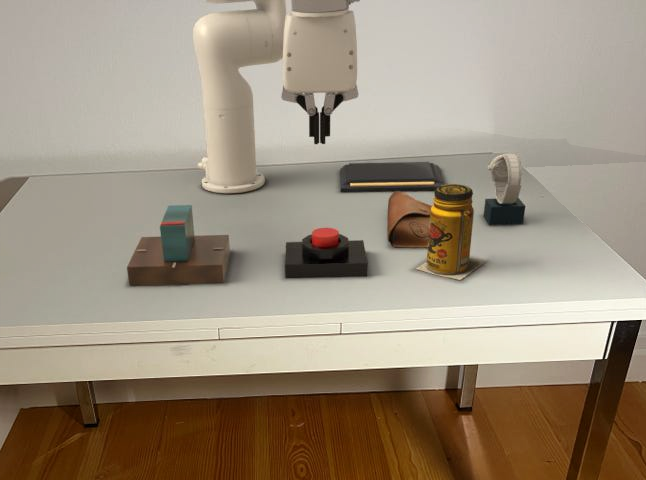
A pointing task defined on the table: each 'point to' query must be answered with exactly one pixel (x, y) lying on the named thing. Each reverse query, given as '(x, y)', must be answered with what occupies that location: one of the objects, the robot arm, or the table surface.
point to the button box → (325, 259)
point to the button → (325, 237)
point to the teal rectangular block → (177, 233)
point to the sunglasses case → (408, 221)
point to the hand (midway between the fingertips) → (319, 141)
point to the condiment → (451, 233)
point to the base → (180, 263)
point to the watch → (505, 191)
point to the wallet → (390, 177)
